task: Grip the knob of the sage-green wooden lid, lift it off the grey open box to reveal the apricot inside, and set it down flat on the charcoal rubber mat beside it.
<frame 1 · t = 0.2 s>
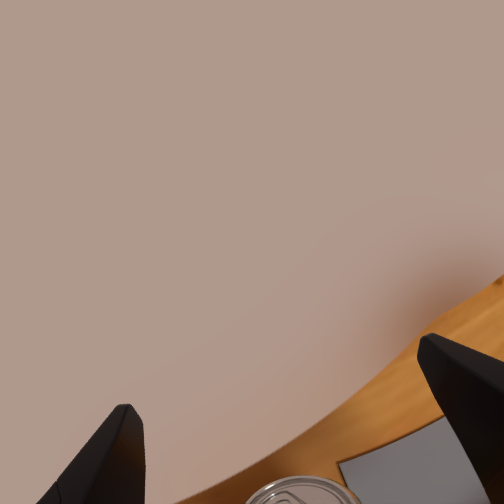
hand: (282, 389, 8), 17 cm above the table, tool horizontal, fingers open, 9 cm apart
mat: (437, 492, 14), on the table
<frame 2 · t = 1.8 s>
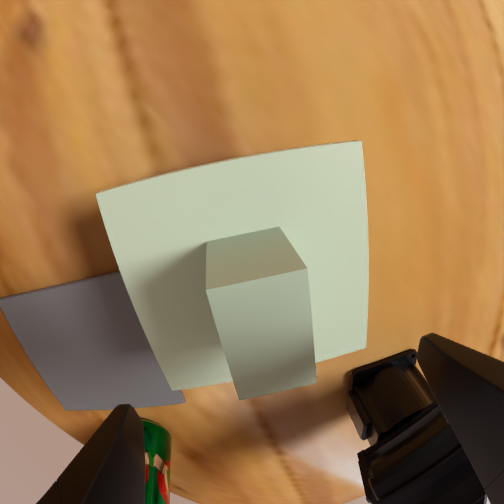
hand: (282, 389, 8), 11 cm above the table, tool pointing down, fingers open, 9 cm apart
lid: (251, 280, 14), point 4 cm above the table, touching grey open box
mat: (88, 354, 20), on the table
soda can: (145, 429, 24), on the table
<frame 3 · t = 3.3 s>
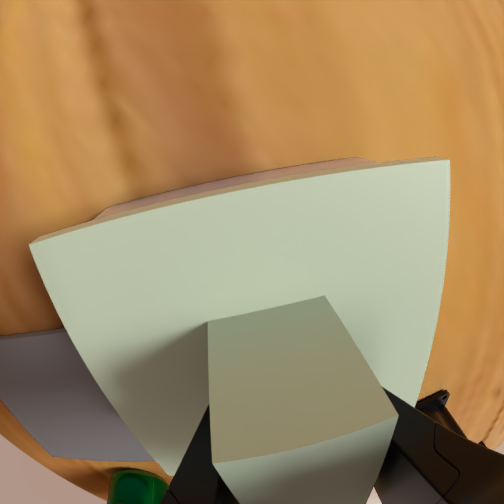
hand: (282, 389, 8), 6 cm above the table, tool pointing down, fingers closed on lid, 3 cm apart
grey open box: (255, 292, 13), on the table
lid: (275, 363, 9), point 4 cm above the table, touching grey open box, gripper
mat: (68, 408, 15), on the table
soda can: (141, 477, 19), on the table
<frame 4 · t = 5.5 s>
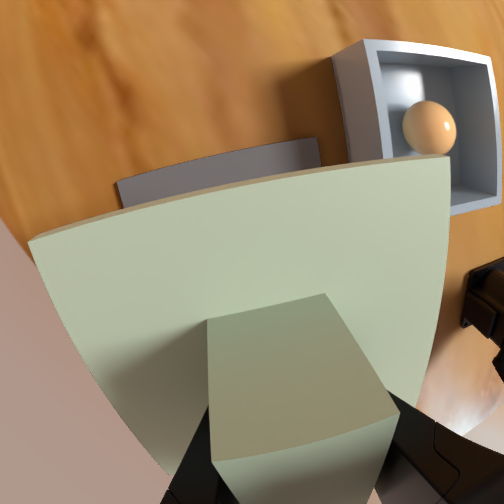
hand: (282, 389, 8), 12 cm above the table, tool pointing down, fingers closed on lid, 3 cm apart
grey open box: (409, 127, 18), on the table
lid: (275, 362, 9), point 11 cm above the table, touching gripper
mat: (236, 249, 20), on the table
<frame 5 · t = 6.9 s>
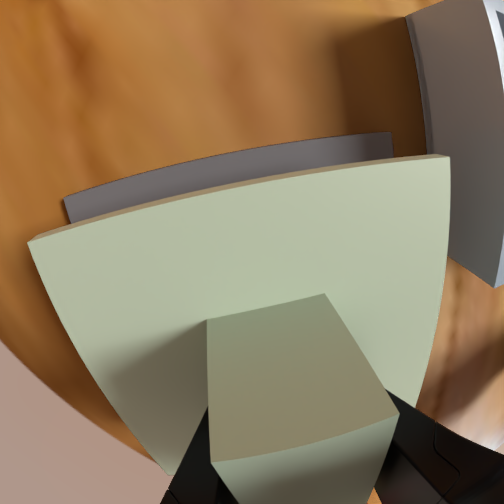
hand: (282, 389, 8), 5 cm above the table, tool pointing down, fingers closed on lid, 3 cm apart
grey open box: (494, 130, 11), on the table
lid: (275, 362, 9), point 4 cm above the table, touching gripper
mat: (257, 305, 12), on the table
when the fingers open (3 cm above the table, at t = 7.9 s): lid drops 1 cm, resting on mat.
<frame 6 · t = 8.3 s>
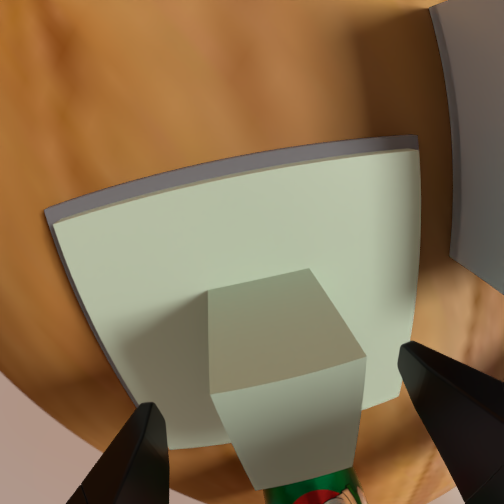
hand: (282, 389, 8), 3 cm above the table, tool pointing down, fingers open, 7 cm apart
lid: (268, 333, 10), resting on mat
mat: (264, 329, 11), on the table
soda can: (300, 451, 15), on the table
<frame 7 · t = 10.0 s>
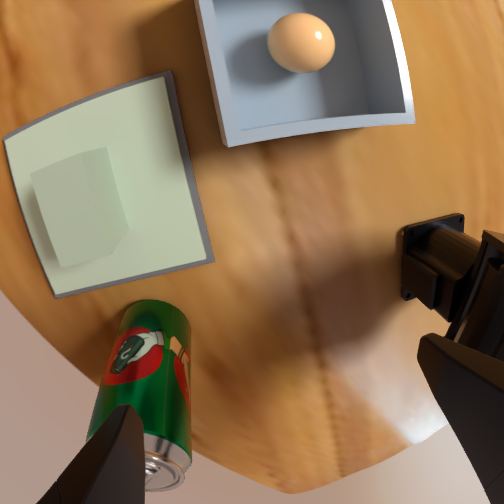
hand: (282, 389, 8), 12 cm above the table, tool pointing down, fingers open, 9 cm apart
grey open box: (289, 52, 16), on the table
lid: (97, 193, 17), resting on mat
mat: (99, 193, 17), on the table
soda can: (156, 323, 21), on the table
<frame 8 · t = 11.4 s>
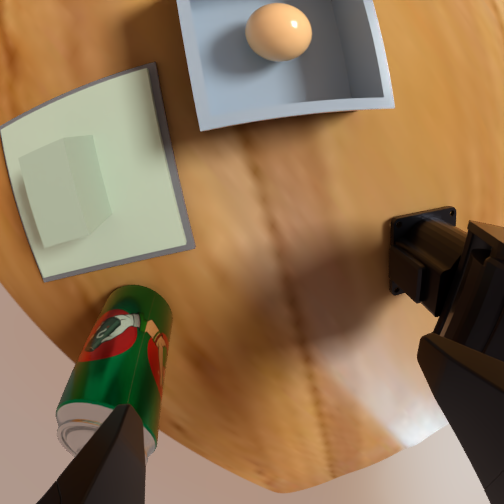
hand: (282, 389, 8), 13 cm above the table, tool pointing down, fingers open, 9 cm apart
grey open box: (270, 42, 16), on the table
lid: (84, 179, 17), resting on mat
mat: (86, 180, 17), on the table
soda can: (140, 310, 21), on the table
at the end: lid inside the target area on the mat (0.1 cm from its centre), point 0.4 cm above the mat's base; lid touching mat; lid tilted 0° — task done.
